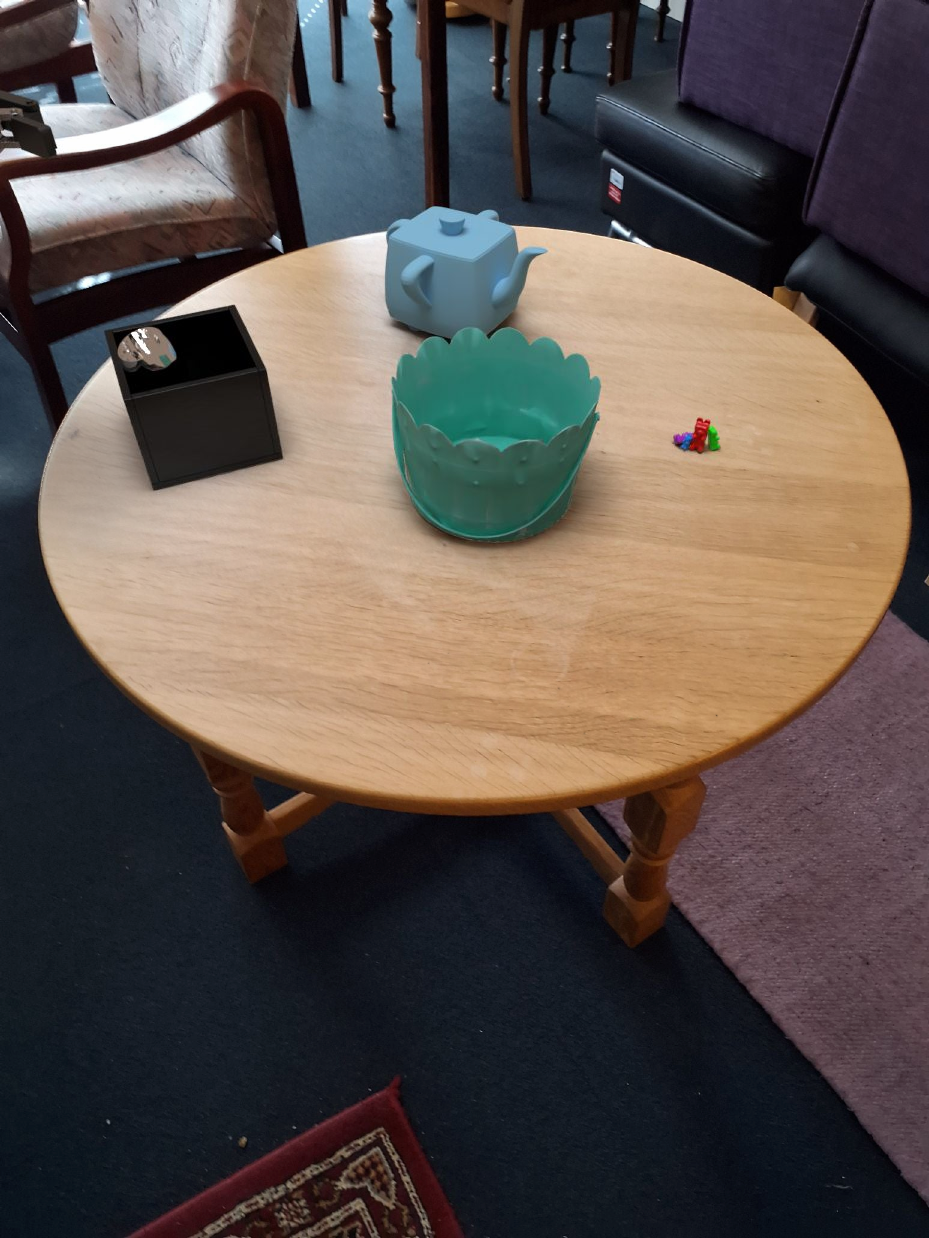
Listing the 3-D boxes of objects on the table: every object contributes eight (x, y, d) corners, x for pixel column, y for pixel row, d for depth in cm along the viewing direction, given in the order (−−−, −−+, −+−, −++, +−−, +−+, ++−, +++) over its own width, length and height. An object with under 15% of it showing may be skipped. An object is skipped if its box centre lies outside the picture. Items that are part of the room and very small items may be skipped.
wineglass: (163, 446, 96) (101, 362, 85) (189, 406, 98) (131, 320, 88) (207, 453, 93) (148, 369, 83) (232, 412, 96) (178, 325, 86)
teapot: (392, 360, 107) (384, 251, 97) (383, 293, 118) (375, 188, 108) (541, 350, 109) (549, 241, 99) (519, 284, 120) (523, 180, 110)
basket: (612, 467, 93) (629, 357, 84) (538, 576, 83) (547, 464, 73) (452, 416, 99) (450, 309, 90) (363, 512, 89) (351, 401, 79)
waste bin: (153, 490, 91) (123, 400, 83) (132, 418, 100) (103, 330, 92) (283, 458, 95) (266, 369, 87) (252, 391, 103) (234, 304, 95)
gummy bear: (669, 447, 96) (674, 419, 93) (676, 433, 97) (682, 406, 95) (715, 459, 94) (722, 432, 92) (721, 445, 96) (728, 418, 93)
